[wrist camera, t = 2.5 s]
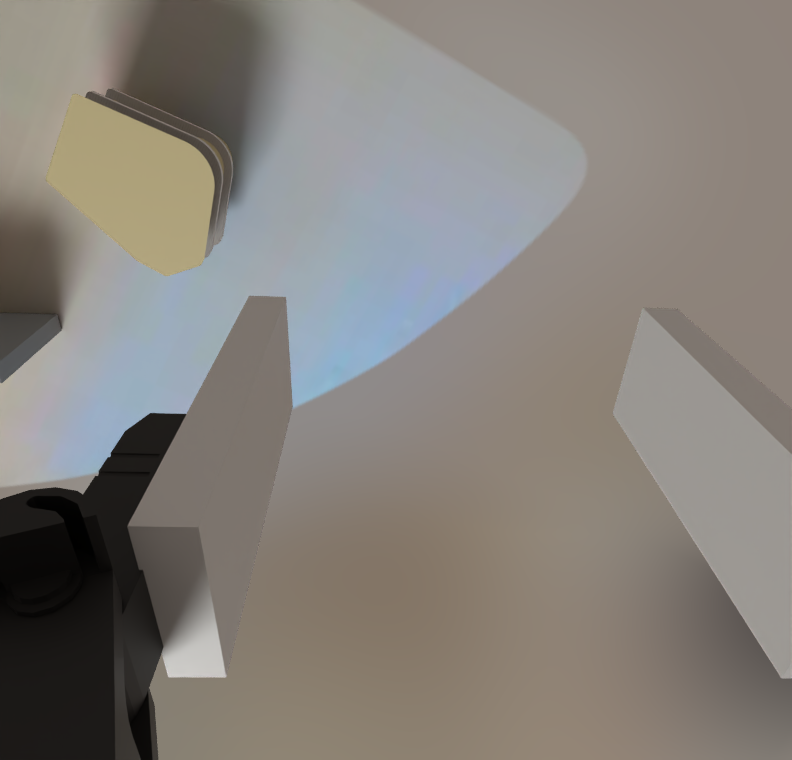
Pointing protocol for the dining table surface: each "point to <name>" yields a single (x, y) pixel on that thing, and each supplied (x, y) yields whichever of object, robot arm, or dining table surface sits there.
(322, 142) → the dining table surface
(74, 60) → the dining table surface
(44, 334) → the box
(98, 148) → the stacked layers on plate
